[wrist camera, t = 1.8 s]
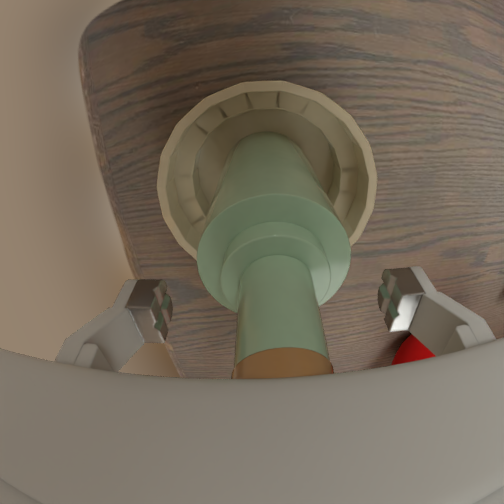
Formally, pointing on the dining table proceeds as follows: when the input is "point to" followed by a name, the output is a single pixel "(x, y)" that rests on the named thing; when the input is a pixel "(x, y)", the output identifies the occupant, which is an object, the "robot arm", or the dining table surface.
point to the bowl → (258, 120)
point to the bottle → (273, 257)
